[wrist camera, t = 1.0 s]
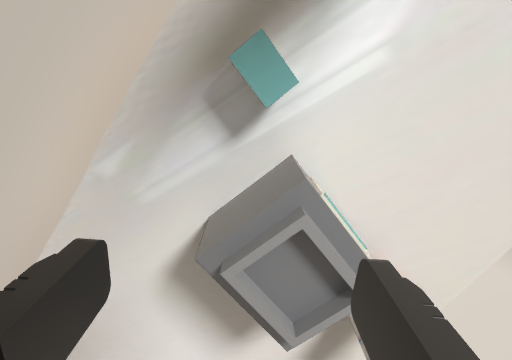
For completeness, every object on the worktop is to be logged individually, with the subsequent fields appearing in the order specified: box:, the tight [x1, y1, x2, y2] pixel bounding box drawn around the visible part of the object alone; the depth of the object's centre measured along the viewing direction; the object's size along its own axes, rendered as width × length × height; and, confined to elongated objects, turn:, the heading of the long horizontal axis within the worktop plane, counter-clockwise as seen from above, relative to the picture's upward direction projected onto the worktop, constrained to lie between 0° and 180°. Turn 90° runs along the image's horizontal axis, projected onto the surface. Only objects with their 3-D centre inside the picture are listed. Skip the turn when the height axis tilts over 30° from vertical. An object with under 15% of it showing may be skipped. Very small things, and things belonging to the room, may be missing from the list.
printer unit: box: [195, 155, 372, 351], centre depth 33 cm, size 15×16×12 cm
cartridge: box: [228, 28, 299, 108], centre depth 30 cm, size 4×6×6 cm, turn 38°
